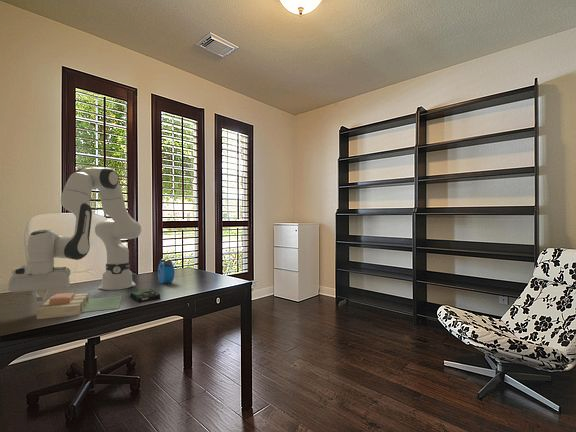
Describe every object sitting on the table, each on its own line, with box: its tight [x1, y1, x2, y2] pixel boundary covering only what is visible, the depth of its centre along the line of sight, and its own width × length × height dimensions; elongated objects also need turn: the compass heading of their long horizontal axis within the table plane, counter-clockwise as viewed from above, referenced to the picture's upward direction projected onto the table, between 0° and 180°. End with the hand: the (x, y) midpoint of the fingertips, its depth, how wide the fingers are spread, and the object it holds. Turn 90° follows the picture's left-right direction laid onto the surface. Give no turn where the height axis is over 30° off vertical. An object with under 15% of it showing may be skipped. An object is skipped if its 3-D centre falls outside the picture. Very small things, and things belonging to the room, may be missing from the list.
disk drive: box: [130, 288, 161, 303], centre depth 151 cm, size 10×3×15 cm
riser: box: [36, 292, 90, 320], centre depth 130 cm, size 22×14×4 cm, turn 25°
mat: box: [80, 295, 123, 314], centre depth 139 cm, size 22×14×1 cm, turn 25°
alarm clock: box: [157, 257, 175, 284], centre depth 185 cm, size 13×6×15 cm, turn 41°
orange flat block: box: [48, 292, 76, 304], centre depth 130 cm, size 10×7×2 cm
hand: (40, 300), depth 127 cm, fingers closed
